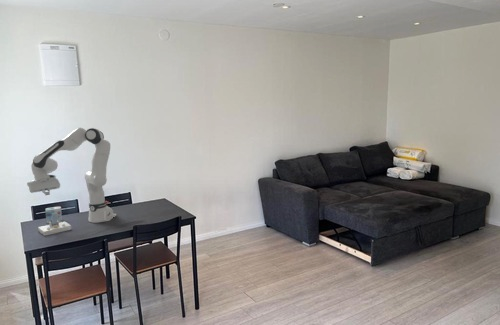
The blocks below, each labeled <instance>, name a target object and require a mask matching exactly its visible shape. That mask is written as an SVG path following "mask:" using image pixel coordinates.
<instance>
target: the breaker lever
mask: <svg viewBox="0 0 500 325" xmlns="http://www.w3.org/2000/svg"><path fill="white" fill-rule="evenodd" d="M51 223H52V226H55V225H57V212H54V213H52V222H51Z"/></svg>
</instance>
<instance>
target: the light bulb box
mask: <svg viewBox="0 0 500 325" xmlns="http://www.w3.org/2000/svg"><path fill="white" fill-rule="evenodd" d="M54 212H57V220H58V221H59V223H60V222H63V218H62V207H61V206H53V207H47V208H45V218H46V219H45V220H46V225H49V222H52V213H54Z"/></svg>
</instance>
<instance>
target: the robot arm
mask: <svg viewBox="0 0 500 325" xmlns="http://www.w3.org/2000/svg"><path fill="white" fill-rule="evenodd" d="M104 138H105V136H104V133H103V132H102V131H100V130H99V129H98V128H94V127H91V128H87V129H85V128H83V127H77V128H76V129H74V130H73V131H72V132H70V133H69V134H68V135H67V136H66V137H63V139H61V140H57V141H55V142H54V143H53V144H51V145H50V146H49V147H48V148H46V149H45V150H43V151H42V152H40V153H38V154H37V155H35V156H34V157H33V159H32V163H31V171H32V174H33V176H34V180H29V181H28V182H27V183H26V185H27V187H28V188H29V189H28V190H29V193H32V194H34V193H39V192H40V193H41V192H42V193H43V194H44V195H45V196H50V195H51V191H52V190H57V189H60V188H61V183H60V181H59V179H58V178H57V176H56V175H54V174H51V173H53V172H54V171H56V170H57V169H58V162H57V161H56V160H55V159H53V158H51V157H53V155H55V154H56V153H58V152H59V151H71V152H72V151H75V150H77V149H78V148H80V146H81V145H83V143H84V142H89V143H91V144H93V145H94V146H95V148H94V151H93V155H92V160H91V170H88V171H86V173H85V174H84V179H85V183H86V184H85V185H86V187H87V192H88V200H89V201H88V202H89V203H88V208H89V209H88V218H87V220H88V222H89V223H93V224H95V223H103V222H108V221H111V220H112V219H114V218H115V217H117V213H114V210H113V209H112V208H111V207H110V206H108V205H107V204H109V202H110V201H107V200H106V199H105V191H104V188H103V187H104V186H105V185H106V184H107V181H108V180H107V167H108V162H109V157H110V151H111V142H109V141H108V140H106V139H104ZM113 217H114V218H113Z"/></svg>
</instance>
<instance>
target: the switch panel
mask: <svg viewBox="0 0 500 325" xmlns="http://www.w3.org/2000/svg"><path fill="white" fill-rule="evenodd" d="M37 228H38V232H39V233H40V234H42V235H43V236H49V235H53V234H57V233H62V232H67V231H71V230H72V225H71V224H70V223H68V222H66V221H62V222H59V221H58V220H57V225H55V226H52V223H51V222H49V223H48V224H46V225H42V226H37Z"/></svg>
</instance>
